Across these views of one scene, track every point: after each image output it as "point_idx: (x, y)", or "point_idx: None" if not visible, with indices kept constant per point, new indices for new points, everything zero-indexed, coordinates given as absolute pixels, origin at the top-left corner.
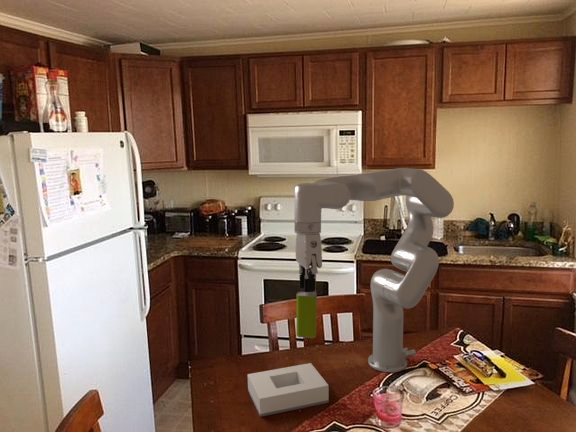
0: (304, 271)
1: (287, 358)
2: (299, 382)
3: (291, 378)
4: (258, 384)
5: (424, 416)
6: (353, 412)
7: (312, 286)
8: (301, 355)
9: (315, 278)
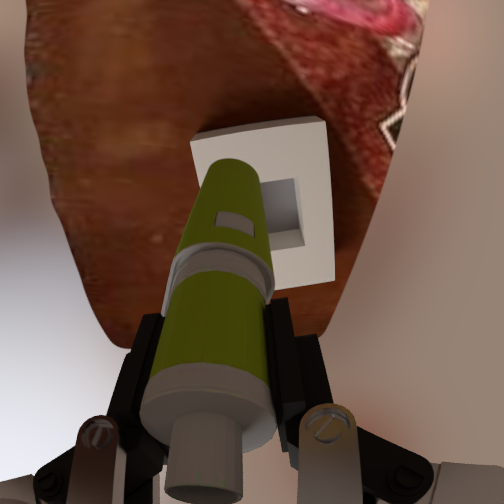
0: (139, 469)
1: (89, 180)
2: None
3: None
4: (277, 279)
5: None
6: (363, 76)
7: (320, 356)
8: (75, 145)
9: (249, 376)
